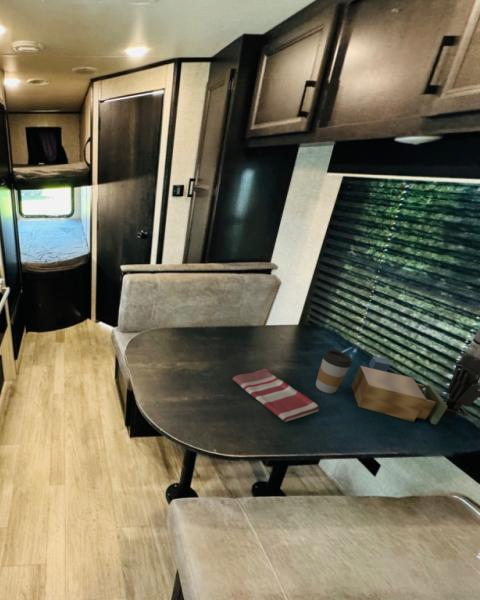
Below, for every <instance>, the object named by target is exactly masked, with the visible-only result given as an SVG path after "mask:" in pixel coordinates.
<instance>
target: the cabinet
mask: <svg viewBox="0 0 480 600" xmlns="http://www.w3.org/2000/svg"><path fill="white" fill-rule="evenodd" d="M416 382H417V381H415V379H414V377H411V376H407V375H403V374H398V373H393V372H389V371H387V372H385V371H381V370H376V369H372V368H370V367H369V366H368V367H367V366H363V365H360V366H359V369H358V371H357V372H356V375H355V376H354V379H353V381H352V384H351V389H352V392H353V395H354V398H355V401H356V403H357V406H358V407H359V408H362V409H365V410H370V411H373V412H377V413H380V414H385V415H388V416H390V417H391V416H392V417H395V418H399V419H402V420H406V421H409V422H415V420H416V419H417V415H418V414H419V412H420V410H421V409H422V407H423V405H424V404H425V402H426V400H427V399H426V398H425V396H424V395H423V393H424V392H423V391H421V390H420V388H419V387H418V385H417V384H418V383H417V384H416Z"/></svg>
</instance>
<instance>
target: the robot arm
mask: <svg viewBox="0 0 480 600" xmlns="http://www.w3.org/2000/svg"><path fill="white" fill-rule="evenodd" d="M459 363H460V364H456V365H455V369H454V373H453V375H452V378H451V380H450V383H449V385H448V387H447V390H446V392H447V393H448V397H449V398H448V399H447V400H448V401H447V402H445V403H446V405H447V406H448V407H447V408H449V409H453V410H457V411H460V410H459V409H460V407H461V406H462V407H467V408H468V407H470V406H471V405H472V404H473V403H474V402H475V401H476V400H477V399H478V398H479V397H480V327H479V328H478V330H477V332H476V333H475V335H474V337H473V339H472V340H471V342H470V343H469V344H467V349H466V351H465V352H464V353H463V355H461V358H460V359H459ZM457 414H458V413H455V412H451V411H447V410H445V412H444V413H443V415H442V416H441V417H445V418H448V419H455V417H456V415H457Z"/></svg>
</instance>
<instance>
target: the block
mask: <svg viewBox="0 0 480 600" xmlns="http://www.w3.org/2000/svg"><path fill="white" fill-rule="evenodd" d="M368 367H369V368H372V369H376V370H381V371H385V372H389V369H390V367H391V363H390V361H389V360H388V358H383V357H380V356H373V355H372V357H371V359H370V361H369V363H368Z"/></svg>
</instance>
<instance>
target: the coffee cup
mask: <svg viewBox="0 0 480 600" xmlns="http://www.w3.org/2000/svg"><path fill="white" fill-rule="evenodd" d="M352 362H353V361H352V357H351V356H350V355H348V354H346V353H344V352H342V351H340V350H334V349H329V350H327V351H325V352H324V353H323V356H322V359H321V363H320V367H319V370H318V374H317V377H316V382H315V387H316V388H317V389H318V390H319V391H321V392H323V393H325V394H334V393H336V392H337V390H338V389H339V387H340V386H341V384H342V382H343V381H344V378H345V377H346V375H347V373H348V371H349V369H350V368H351V367H352Z"/></svg>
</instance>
